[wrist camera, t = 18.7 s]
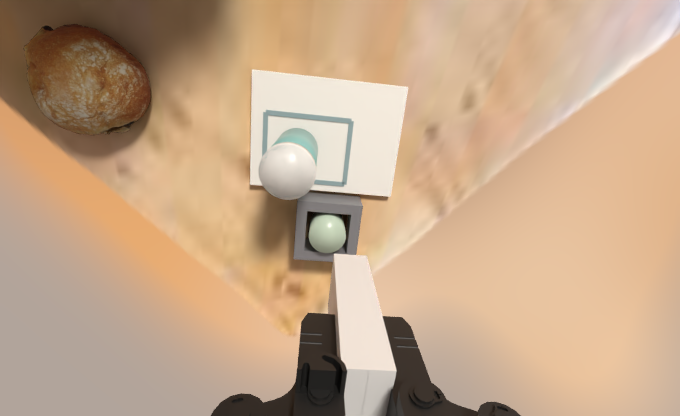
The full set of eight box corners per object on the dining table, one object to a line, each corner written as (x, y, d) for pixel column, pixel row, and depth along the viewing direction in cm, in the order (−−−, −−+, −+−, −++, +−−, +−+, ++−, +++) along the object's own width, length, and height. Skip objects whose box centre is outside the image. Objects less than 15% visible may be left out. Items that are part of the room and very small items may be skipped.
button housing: (295, 245, 42) (293, 259, 38) (299, 191, 39) (297, 200, 36) (352, 249, 42) (355, 263, 39) (359, 196, 40) (362, 206, 37)
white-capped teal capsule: (275, 164, 37) (256, 196, 27) (278, 123, 36) (260, 140, 26) (316, 170, 38) (312, 203, 28) (321, 129, 36) (319, 148, 26)
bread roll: (108, 132, 40) (91, 170, 34) (8, 56, 33) (-34, 88, 27) (173, 83, 38) (167, 114, 33) (83, -8, 31) (55, 12, 26)
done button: (308, 236, 41) (307, 251, 37) (311, 205, 40) (310, 217, 36) (341, 238, 41) (343, 254, 38) (345, 208, 40) (347, 220, 36)
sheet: (251, 182, 39) (249, 184, 38) (253, 69, 35) (251, 69, 34) (389, 194, 40) (390, 197, 39) (406, 86, 36) (408, 87, 35)
